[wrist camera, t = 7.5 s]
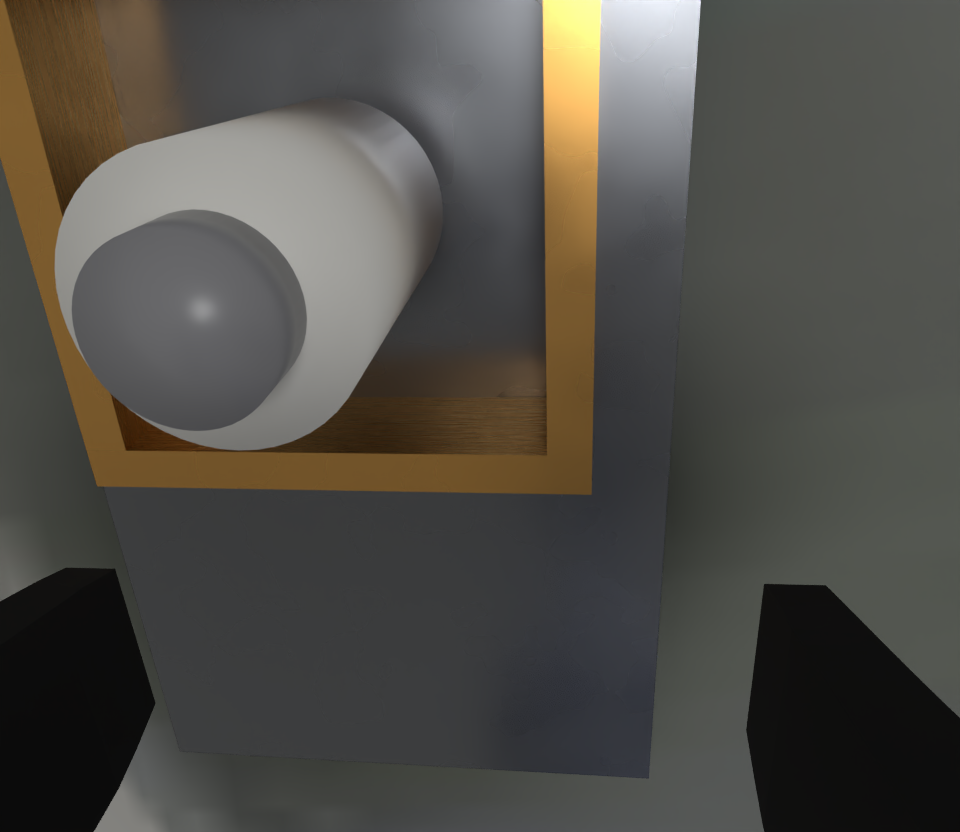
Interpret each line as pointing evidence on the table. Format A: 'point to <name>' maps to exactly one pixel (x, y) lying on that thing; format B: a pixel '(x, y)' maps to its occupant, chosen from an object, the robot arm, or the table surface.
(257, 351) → the canister
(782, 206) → the table surface
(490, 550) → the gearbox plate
